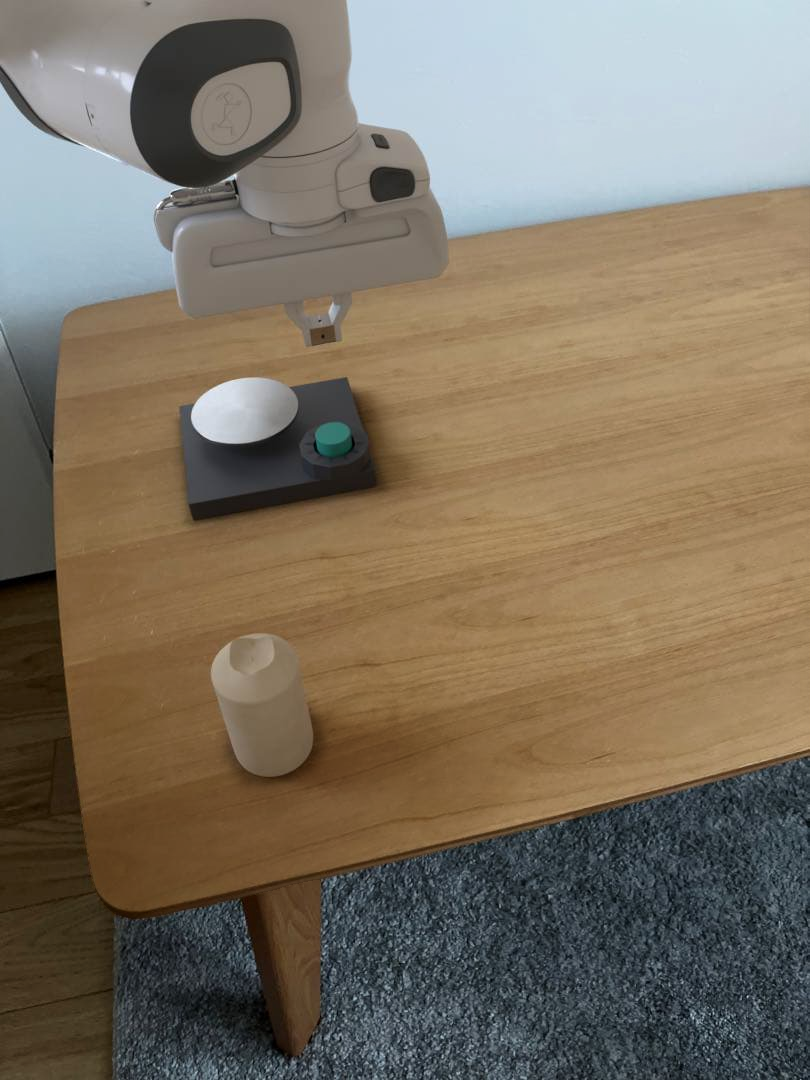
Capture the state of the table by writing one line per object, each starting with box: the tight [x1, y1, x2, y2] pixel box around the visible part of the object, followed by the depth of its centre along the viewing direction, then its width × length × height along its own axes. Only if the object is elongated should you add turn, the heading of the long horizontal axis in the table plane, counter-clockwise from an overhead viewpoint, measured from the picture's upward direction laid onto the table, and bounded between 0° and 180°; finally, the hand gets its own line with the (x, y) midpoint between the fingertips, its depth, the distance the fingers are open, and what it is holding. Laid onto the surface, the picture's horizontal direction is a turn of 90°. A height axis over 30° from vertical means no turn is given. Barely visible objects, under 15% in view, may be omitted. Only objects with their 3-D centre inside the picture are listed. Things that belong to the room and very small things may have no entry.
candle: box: [210, 632, 314, 778], centre depth 66 cm, size 6×6×10 cm
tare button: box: [315, 422, 352, 458], centre depth 86 cm, size 3×3×2 cm
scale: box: [178, 376, 378, 521], centre depth 90 cm, size 16×14×4 cm
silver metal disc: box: [191, 377, 299, 447], centre depth 90 cm, size 10×10×1 cm
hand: (322, 340), depth 79 cm, fingers closed
